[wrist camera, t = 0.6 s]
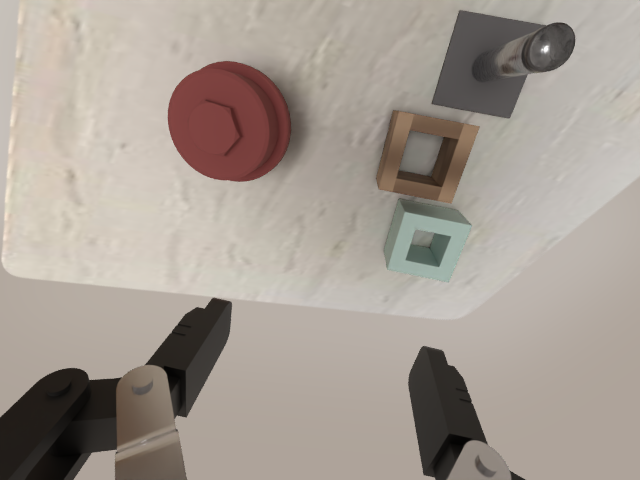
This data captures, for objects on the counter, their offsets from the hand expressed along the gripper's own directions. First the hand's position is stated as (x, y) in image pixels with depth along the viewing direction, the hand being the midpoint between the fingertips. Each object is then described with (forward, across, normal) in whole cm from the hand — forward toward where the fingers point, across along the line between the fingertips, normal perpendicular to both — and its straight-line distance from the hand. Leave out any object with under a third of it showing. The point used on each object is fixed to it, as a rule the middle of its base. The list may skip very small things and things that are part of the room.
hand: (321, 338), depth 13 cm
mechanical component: (+26, +11, -5) cm, 29 cm away
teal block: (+26, -10, +4) cm, 28 cm away
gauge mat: (+26, -11, -14) cm, 32 cm away
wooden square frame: (+26, -7, -5) cm, 27 cm away
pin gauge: (+26, -11, -14) cm, 31 cm away
